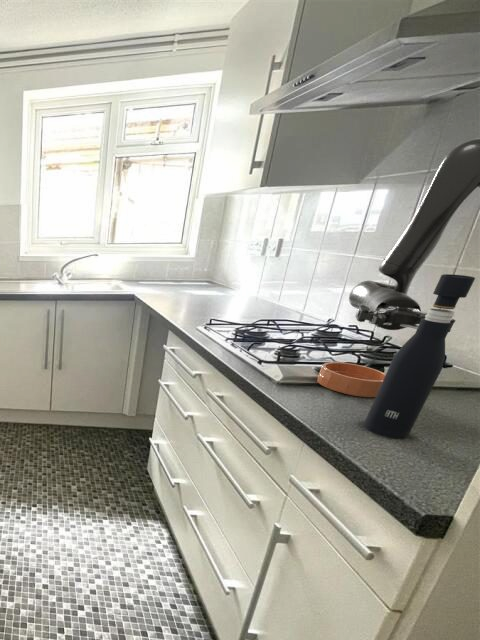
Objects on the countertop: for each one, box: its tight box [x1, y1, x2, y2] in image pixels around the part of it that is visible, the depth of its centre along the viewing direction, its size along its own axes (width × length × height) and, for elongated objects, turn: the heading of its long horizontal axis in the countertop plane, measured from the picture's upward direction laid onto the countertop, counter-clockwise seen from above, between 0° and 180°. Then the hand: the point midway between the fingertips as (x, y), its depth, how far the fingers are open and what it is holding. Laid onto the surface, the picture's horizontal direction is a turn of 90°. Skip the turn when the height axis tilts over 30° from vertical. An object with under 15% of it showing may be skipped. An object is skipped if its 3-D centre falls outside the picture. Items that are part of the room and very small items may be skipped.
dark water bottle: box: [363, 273, 476, 440], centre depth 75 cm, size 6×6×30 cm
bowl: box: [316, 361, 386, 398], centre depth 100 cm, size 12×12×4 cm
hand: (410, 325), depth 82 cm, fingers open, 8 cm apart
